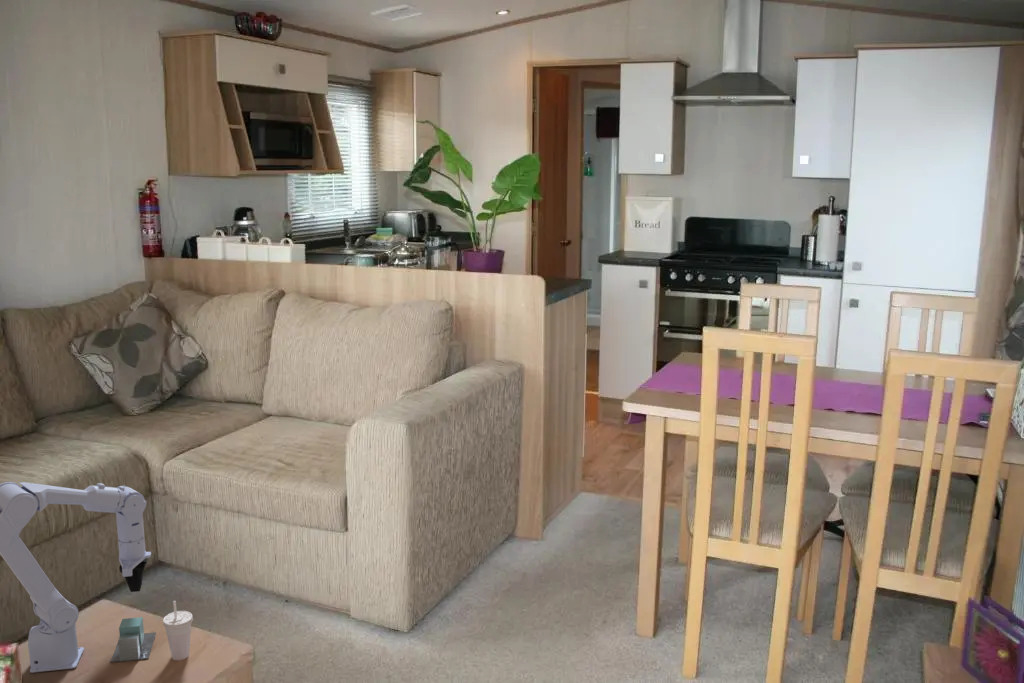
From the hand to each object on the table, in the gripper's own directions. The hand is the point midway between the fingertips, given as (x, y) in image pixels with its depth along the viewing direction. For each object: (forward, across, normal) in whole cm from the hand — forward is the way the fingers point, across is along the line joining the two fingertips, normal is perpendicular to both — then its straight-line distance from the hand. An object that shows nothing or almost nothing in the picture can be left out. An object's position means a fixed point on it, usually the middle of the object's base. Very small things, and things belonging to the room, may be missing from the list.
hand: (135, 590), depth 212 cm
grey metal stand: (+10, -9, 0) cm, 13 cm away
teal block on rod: (+8, -9, 0) cm, 12 cm away
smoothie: (+11, -14, -11) cm, 21 cm away
